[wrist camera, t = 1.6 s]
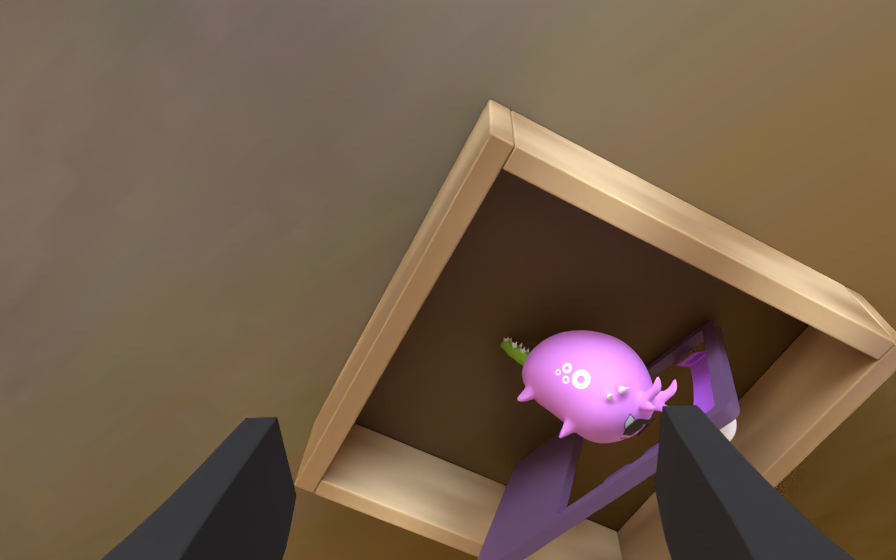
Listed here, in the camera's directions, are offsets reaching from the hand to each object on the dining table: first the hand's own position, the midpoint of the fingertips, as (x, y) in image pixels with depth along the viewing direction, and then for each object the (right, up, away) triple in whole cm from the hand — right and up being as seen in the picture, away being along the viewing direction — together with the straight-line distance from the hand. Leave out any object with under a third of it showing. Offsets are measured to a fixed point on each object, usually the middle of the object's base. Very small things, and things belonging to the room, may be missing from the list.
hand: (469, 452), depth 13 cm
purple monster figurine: (+4, +1, +11) cm, 11 cm away
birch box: (+4, 0, +11) cm, 11 cm away
